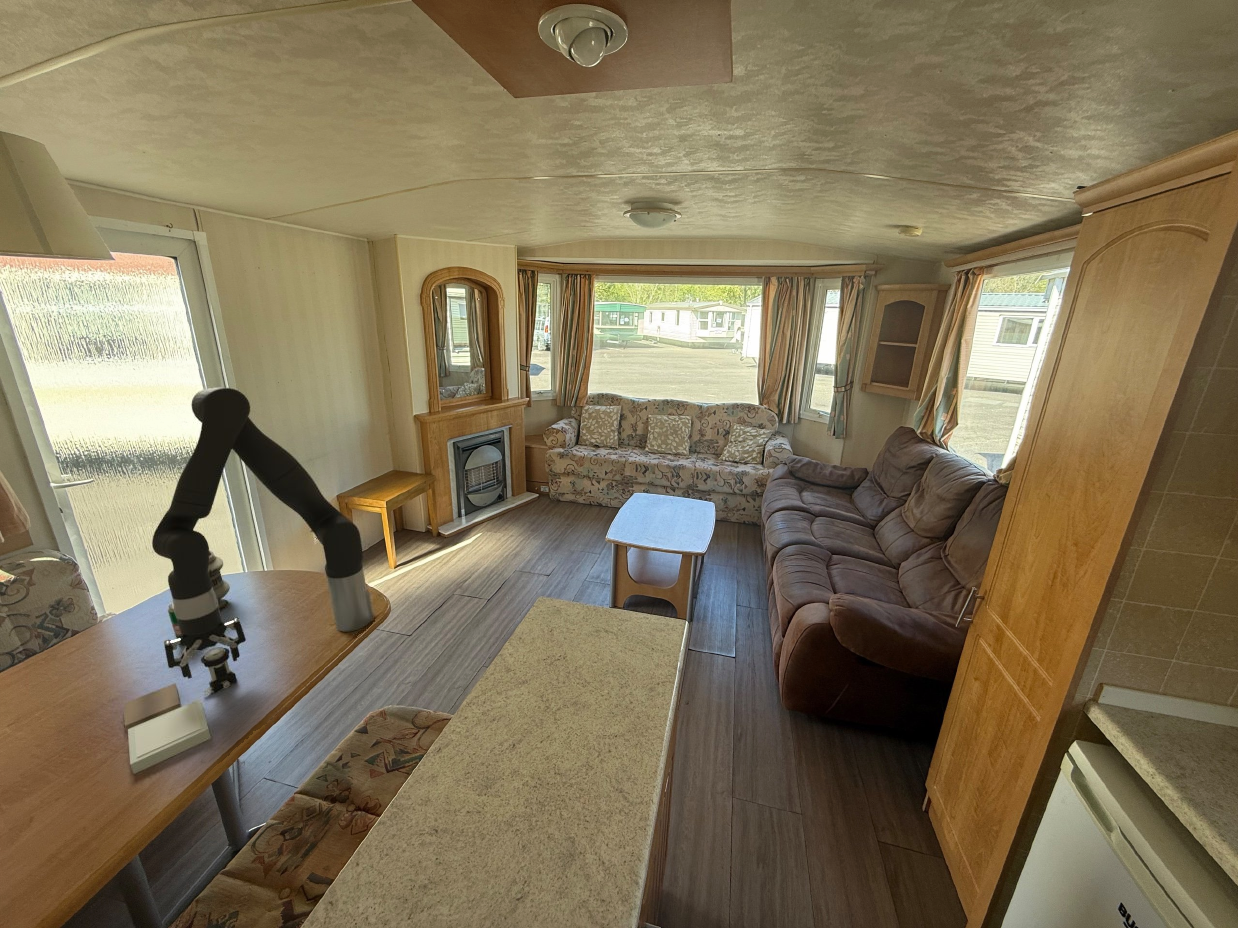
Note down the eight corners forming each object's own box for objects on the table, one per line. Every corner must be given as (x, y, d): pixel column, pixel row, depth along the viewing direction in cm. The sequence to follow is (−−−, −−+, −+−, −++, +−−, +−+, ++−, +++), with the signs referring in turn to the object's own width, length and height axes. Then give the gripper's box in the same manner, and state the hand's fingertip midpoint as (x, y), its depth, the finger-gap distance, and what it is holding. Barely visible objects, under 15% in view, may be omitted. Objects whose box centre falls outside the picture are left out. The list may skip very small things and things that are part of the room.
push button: (210, 700, 115) (199, 665, 112) (199, 692, 118) (188, 658, 115) (242, 682, 121) (232, 648, 118) (230, 675, 123) (221, 641, 120)
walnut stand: (177, 689, 119) (175, 683, 118) (181, 710, 112) (179, 703, 112) (126, 710, 112) (123, 703, 112) (127, 732, 106) (124, 725, 106)
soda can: (174, 644, 135) (162, 606, 131) (195, 633, 139) (184, 596, 136) (185, 648, 133) (173, 610, 129) (206, 638, 137) (195, 600, 134)
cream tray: (202, 707, 113) (199, 698, 112) (210, 738, 105) (207, 728, 104) (131, 738, 105) (127, 728, 104) (133, 773, 97) (130, 763, 96)
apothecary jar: (212, 620, 145) (197, 566, 140) (172, 620, 145) (155, 566, 140) (243, 598, 156) (230, 547, 151) (206, 597, 157) (191, 546, 151)
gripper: (232, 591, 120) (246, 647, 125) (154, 614, 111) (171, 674, 115) (238, 603, 115) (252, 661, 120) (156, 629, 105) (174, 691, 110)
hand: (212, 667), depth 117 cm, fingers open, 8 cm apart
